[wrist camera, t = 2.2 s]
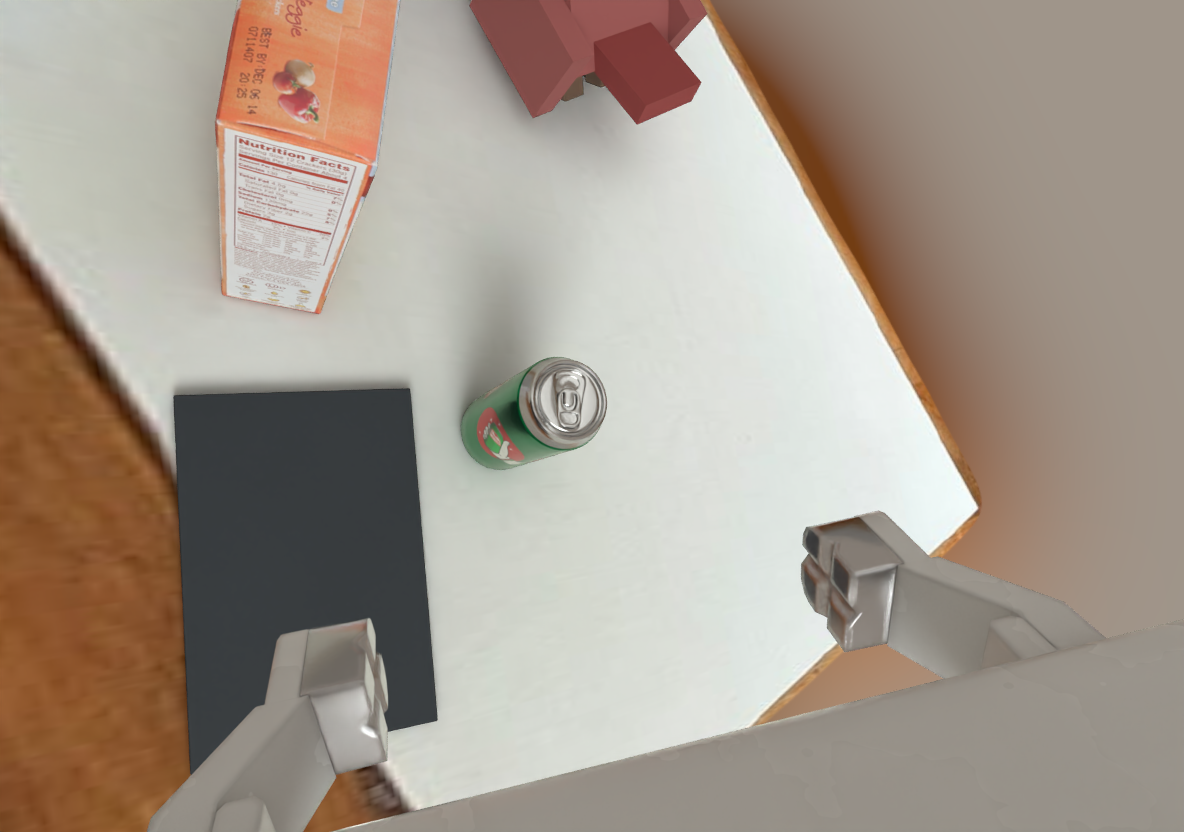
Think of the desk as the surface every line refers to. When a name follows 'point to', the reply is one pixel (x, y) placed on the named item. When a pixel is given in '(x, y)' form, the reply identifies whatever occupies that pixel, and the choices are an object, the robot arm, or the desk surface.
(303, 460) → the desk mat
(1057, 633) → the robot arm
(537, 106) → the red blocky animal figure
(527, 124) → the desk surface
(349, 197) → the cracker box
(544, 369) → the soda can
